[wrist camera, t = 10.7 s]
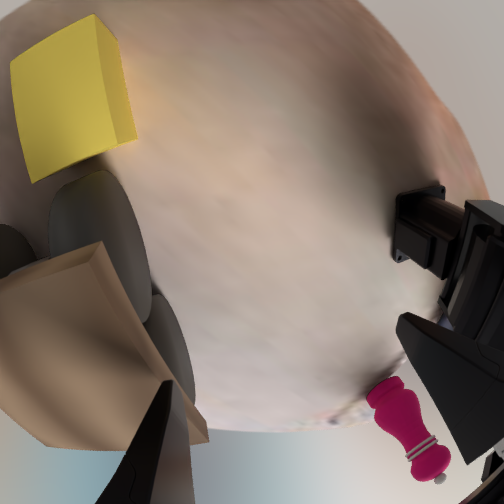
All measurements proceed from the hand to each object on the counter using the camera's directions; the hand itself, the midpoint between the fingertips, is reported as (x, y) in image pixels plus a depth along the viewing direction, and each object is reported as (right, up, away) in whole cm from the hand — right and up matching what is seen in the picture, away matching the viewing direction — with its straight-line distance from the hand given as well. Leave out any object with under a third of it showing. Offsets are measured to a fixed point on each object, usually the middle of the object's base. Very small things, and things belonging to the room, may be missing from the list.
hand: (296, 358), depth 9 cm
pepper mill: (+19, -17, +26) cm, 36 cm away
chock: (-11, +13, +3) cm, 18 cm away
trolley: (-14, +1, +8) cm, 16 cm away
